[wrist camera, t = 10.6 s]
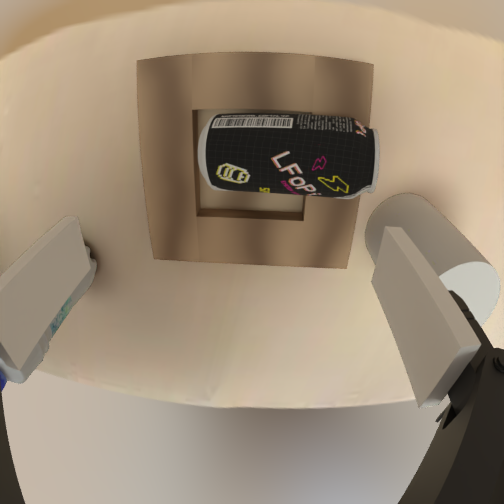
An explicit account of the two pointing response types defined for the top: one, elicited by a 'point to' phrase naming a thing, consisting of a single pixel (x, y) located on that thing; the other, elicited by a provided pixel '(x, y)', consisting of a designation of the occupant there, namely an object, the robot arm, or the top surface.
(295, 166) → the beverage can
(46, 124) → the top surface
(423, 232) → the cup
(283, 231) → the socket block
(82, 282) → the bottle
